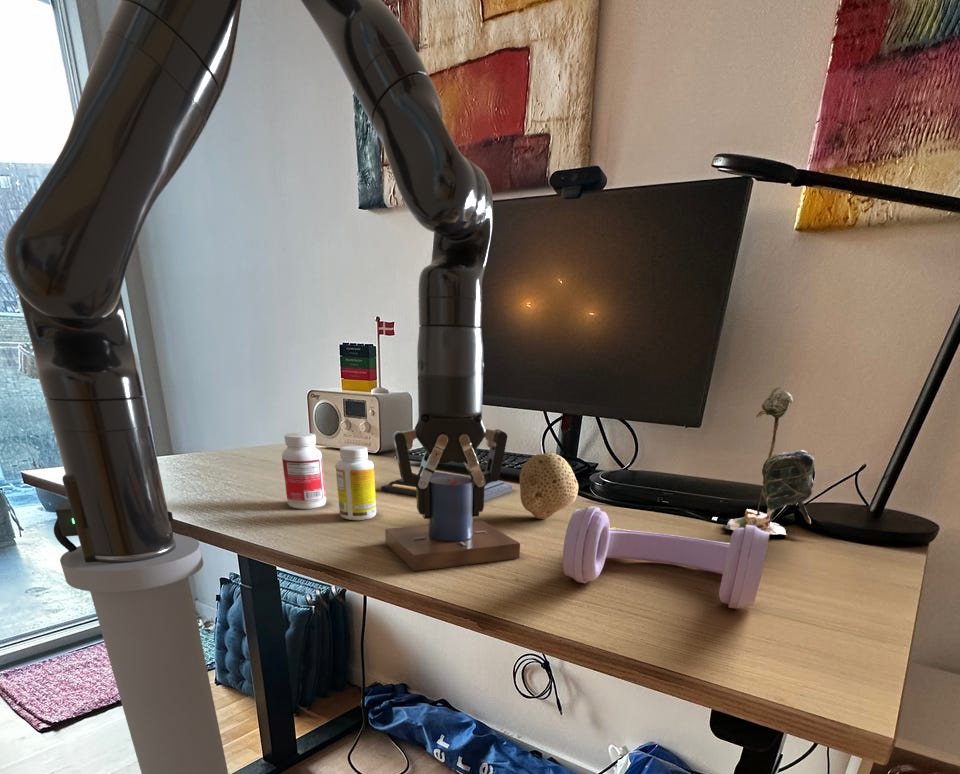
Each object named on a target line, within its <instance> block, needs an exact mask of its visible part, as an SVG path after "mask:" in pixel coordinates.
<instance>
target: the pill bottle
mask: <svg viewBox="0 0 960 774" xmlns="http://www.w3.org/2000/svg"><path fill="white" fill-rule="evenodd" d="M284 443H285V445H286V449H284V450H283V451H282V453H281V460H282V468H283V476H284V485H285V492H286V493H285V494H286V500H287V505H288V506H289V507H290V508H292V509H299V510H300V509H301V510H311V509H316V508H321V507H323V506H325V505H326V503H327V494H326V484H325V474H324V464H323V455H322V452H321V451H320V449H318V448H316V447H315V446H316V445H317V444H316V443H317V439H316V434H315V433H311V432H291V433H286V434H284Z"/></svg>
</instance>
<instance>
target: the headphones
mask: <svg viewBox="0 0 960 774" xmlns="http://www.w3.org/2000/svg"><path fill="white" fill-rule="evenodd" d="M769 540H770V535H769V533H767V532H764V531H762V530H760V529H758V528H757V527H756V526H752V525H746V528H738V529H736V530H733V531H732V533H731V536H730V540H729V542H723V541H716V540H710V539H704V538H696V537H688V536H683V535H682V536H681V535H675V534H668V533H659V532H658V533H657V532H649V531H641V530H640V531H639V530H632V529H631V530H630V529H626V528H619V527H611V525H610V518H609V516H608V514H607V513H606V511H603V510H601V508H600V507H599V506H588V507H586V508H583V509H576V510H574V511H573V513H572V514H571V517H570V519H569V521H568V524H567V528H566V532H565V536H564V541H563V542H564V543H563V547H562V570H563V573H564V575H565V576H566V577H570V578H571V579H573V580H574V581H575V582H577V583H581V584H587V583H588V582H593V581H595V580H597V578H598V577H599V576H600V574H601V572H602V570H603V568H604V565H605V561H606V559H621V560H623V559H624V560H637V561H647V562H654V563H663V564H670V565H676V566H683V567H687V568H688V567H689V568H694V569H699V570H703V571H708V572H713V573H716V574H721V575H722V576H721V581H720V585H719V591H718V592H719V593H718V597H719V600H720V602H722V603H724V604H727V605H728V608H731V609H740V608H743V607H753V606H754V604H755V601H756V598H757V594H758V590H759V587H760V582H761V578H762V573H763V571H764V570H763V569H764V565H765V561H766V557H767V556H766V555H767V551H768V545H769Z"/></svg>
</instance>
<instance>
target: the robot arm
mask: <svg viewBox="0 0 960 774" xmlns="http://www.w3.org/2000/svg"><path fill="white" fill-rule="evenodd" d="M242 1H243V0H120V1H119V3H118V6H117V7H116V10H115V12H114V15H113V16H112V18H111V21H110V23H109V25H108V27H107V28H106V30H105V33H104V35H103V38H102V41H101V43H100V45H99V47H98V50H97V53H96V56H95V58H94V61H93V62H92V65H91V67H90V70H89V73H88V75H87V78H86V81H85V84H84V87H83V89H82V92H81V95H80V98H79V100H78V101H79V102H78V105H77V108H76V111H75V115H74V119H73V122H72V125H71V127H70V130H69V134H68V136H67V139H66V141H65V143H64V145H63V148H62V150H61V151H60V153H59V155H58V157H57V158H56V159H55V160H56V161H55V162H54V164H53V165H52V167H51V168H50V170H49V171H48V173H47V174H46V176H45V178H43V179H44V180H43V181H42V183H41V184H40V186H39V188H37V190H36V192H35V193H34V195H33V196H32V198H31V199H30V201H28V203H27V205H26V206H25V207H24V209H23V210H22V212H21V213H20V214H19V216H18V217H17V218H16V220H15V222H14V223H13V224H12V226H10V228H9V230H8V232H7V235H6V237H5V240H4V249H3V257H4V264H5V268H6V271H7V274H8V276H9V279H10V281H11V282H12V284H13V286H14V287H15V289H16V291H17V295H18V299H19V303H20V306H21V311H22V313H23V317H24V321H25V324H26V328H27V332H28V335H29V339H30V342H31V346H32V351H33V356H34V361H35V366H36V372H37V377H38V381H39V383H40V387H41V391H42V394H43V397H44V400H45V405H46V408H47V411H48V416H49V419H50V422H51V426H52V429H53V430H52V431H53V434H54V437H55V441H56V444H57V447H58V451H59V456H60V459H61V462H62V466H63V470H64V475H63V476H62V484H63V487H64V490H65V491H64V492H65V494H66V497H67V499H63V500H62V501H61V502H60V503H59V505H58V506H57V507H56V509H55V511H54V512H55V514H56V520H55V522H54V526H53V534H54V536H55V539H56V541H57V542H58V543H60V545H62V547H64V549H66V550H67V552H68V551H69V552H73V551H75V550H76V549H77V547H78V546H77V545H75V544H74V543H73V542H72V541H71V540H70V539H69V538H68V537H78V541H79V544H80V545H79V546H81V548H82V552H83V555H84V559H85V562H105V563H126V562H135V561H142V560H147V559H152V558H156V557H159V556H162V555H165V554H167V553H169V552H171V551H173V550H174V549H175V548H176V544H175V539H174V538H173V534H174V533H173V527H172V524H171V523H173V524H174V516H173V512H172V511H169V510H168V505H167V500H166V496H165V491H164V486H163V485H164V484H163V481H162V476H161V472H160V467H159V462H158V457H157V451H156V448H155V443H154V437H153V433H152V428H151V423H150V418H149V414H148V408H147V404H146V399H145V395H144V389H143V384H142V381H141V375H140V371H139V368H138V364H137V360H136V356H135V352H134V348H133V344H132V338H131V333H130V329H129V325H128V319H127V315H126V311H125V309H126V308H125V305H124V301H123V300H124V299H123V295H122V288H123V284H124V280H125V277H126V274H127V271H128V268H129V265H130V263H131V258H132V256H133V253H134V250H135V248H136V245H137V241H138V240H139V237H140V234H141V231H142V230H143V226H144V224H145V222H146V220H147V218H148V215H149V213H150V212H151V209H152V207H153V206H154V204H155V202H156V201H157V199H158V198H159V196H160V195H161V193H162V192H163V191H164V190H165V188H167V186H168V185H169V183H170V182H171V181H172V179H173V178H175V176H176V174H177V173H178V172H179V171H180V169H181V167H182V166H183V165H184V163H185V162H186V160H187V159H188V157H189V156H190V154H191V152H192V151H193V149H194V148H195V146H196V145H197V143H198V141H199V139H200V138H201V136H202V134H203V132H204V130H205V128H206V127H207V125H208V123H209V121H210V119H211V117H212V115H213V114H214V111H215V108H216V107H217V104H218V102H219V101H220V98H221V96H222V94H223V92H224V89H225V87H226V85H227V82H228V78H229V76H230V72H231V69H232V65H233V64H232V63H233V60H234V54H235V49H236V43H237V36H238V29H239V22H240V15H241V8H242V3H243V2H242ZM300 2H301V3H302V4H303V7H304V8H305V9H306V11H307V12H308V14H309V16H310V17H311V18H312V19H313V21H314V23H315V25H316V26H317V28H318V30H319V31H320V33H321V34H322V36H323V38H324V39H325V41H326V43H327V45H328V47H329V49H330V50H331V52H332V54H333V55H334V57H335V59H336V61H337V62H338V65H339V66H340V68H341V70H342V72H343V74H344V76H345V77H346V79H347V81H348V83H349V85H350V87H351V89H352V90H353V92H354V94H355V97H356V98H357V100H358V102H359V104H360V105H361V107H362V110H363V111H364V114H365V115H366V116H367V118H368V120H369V122H370V125H371V126H372V128H373V129H374V131H375V133H376V135H377V136H378V138H379V140H380V142H381V143H382V145H383V149H384V152H385V156H386V159H387V162H388V165H389V167H390V170H391V173H392V176H393V179H394V181H395V184H396V186H397V189H398V192H399V194H400V196H401V198H402V200H403V202H404V204H405V205H406V208H407V209H408V211H409V212H410V214H411V215H412V216H413V218H414V219H415V220H416V221H417V223H418V224H419V225H420V226H422V227H423V228H424V229H426V230H427V231H429V232H431V233H433V238H432V250H431V260H430V264H428V265H427V266H425V267H423V269H422V270H421V271H420V274H419V276H418V277H419V279H418V288H417V289H418V290H417V292H418V294H417V295H418V297H417V298H418V300H417V301H418V336H417V337H418V338H417V347H416V348H417V351H416V354H417V355H416V357H417V358H416V359H417V360H416V361H417V403H418V405H417V407H418V409H417V411H418V419H417V423H416V425H415V426H414V428H412V429H408V430H401V431H400V430H398V429H397V430H394V431H393V432H392V441H393V445H394V450H395V455H396V460H397V465H398V470H399V475H400V479H403V481H404V483H405V484H411V485H413V486H415V487H416V494H417V496H416V509H417V512H418V514H419V515H421V516H422V518H423V519H424V520H429V519H430V489H429V488H428V484H429V481H430V479H431V477H432V474H433V473H434V472H436V469H437V467H438V465H439V464H448V463H451V462H452V463H457V464H464V466H465V468H466V470H467V472H468V474H469V475H468V476H469V477H471V479H472V480H473V518H475V517H476V518H477V517H480V513H482V512H483V511H484V509H485V501H484V488H485V486H486V485H487V484H488V483H490V482H493V481H494V482H496V481H500V480H499V479H500V478H501V472H502V467H503V462H504V456H505V453H506V446H507V440H508V434H507V433H506V432H505V431H503V430H501V429H490V428H489V429H488V428H486V427H485V425H484V423H483V396H484V395H483V393H484V392H483V391H484V390H483V389H484V385H483V384H484V371H485V361H484V341H483V340H484V339H483V328H482V327H483V282H484V281H483V280H484V275H485V271H486V268H487V267H486V266H487V264H488V263H487V262H488V257H489V252H490V245H491V240H492V232H493V225H494V200H493V199H494V198H493V191H492V188H491V187H492V186H491V184H490V181H489V179H488V177H487V175H486V173H485V172H484V171H483V169H482V168H481V167H480V166H479V165H478V164H476V163H475V162H473V161H472V160H470V159H469V158H468V157H466V156H465V155H463V154H462V153H461V151H460V150H459V148H458V147H457V145H456V143H455V141H454V140H453V138H452V136H451V135H450V133H449V131H448V129H447V127H446V124H445V123H444V121H443V106H442V102H441V99H440V97H439V94H438V92H437V88H436V86H435V84H434V82H433V81H432V79H431V77H430V75H429V73H428V71H427V69H426V67H425V65H424V63H423V61H422V59H421V57H420V56H419V53H418V52H417V50H416V47H415V46H414V44H413V42H412V40H411V37H410V36H409V35H408V33H407V32H406V29H405V28H404V26H403V25H402V24H401V22H400V21H399V19H398V18H397V16H396V15H395V13H394V12H393V11H392V10H391V9H390V8H389V7H388V6H387V5H386V3H385V2H384V1H383V0H300ZM484 438H485V440H486V446H487V447H488V448H489V451H488V457H487V462H486V468H485V470H484V471H482V469H481V465H480V463H479V459H478V457H477V455H476V453H475V452H476V450H477V449H478V448H479V446H480V445H481V443H482V442H483V440H484ZM416 439H417V440H418V442H419V444H420V445H421V446H422V448H423V449H424V450H425V452H424V454H423V456H422V459H421V461H420V466H419V469H418V471H417V473H415V472H413V471H412V470H413V469H412V465H411V460H410V456H409V455H410V454H409V451H410V450H411V449H412V448H413V446H414V445H413V444H414V441H415V440H416Z"/></svg>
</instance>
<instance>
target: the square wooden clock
mask: <svg viewBox="0 0 960 774" xmlns="http://www.w3.org/2000/svg"><path fill="white" fill-rule="evenodd" d="M384 533H385V535H384V536H385V544H386V545H387V546H388V547H389V548H390V549H391V550H392V551H393V552H394V553H395V554H396V555H397V556H398V557H399V558H400V559H401V560H402V561H403V562H404V563H405V564H406V565H407V566H408V567H409V568H410V569H412V570H413V572H418V571H419V572H421V571H429V570H436V569H437V570H438V569H444V568H451V567H452V568H453V567H460V566H468V565H476V564H484V563H491V562H500V561H508V560H515V559H520V557H521V555H520V554H521V542H519V541H517V540H515V539H514V538H512V537H510V536H509V535H507V534H506V533H505V532H502V531H500V530H499V529H497V528H495V527H494V526H492V525H490V524H488V523H487V522H486V521H484V520H482V519H477V520H475V519H474V520H473V531H472V537H471V538H470V539H467V540H463V541H454V542H449V541H439V540H435V539H432V538H431V537H430V536H429V524H423V525H412V526H404V527H403V526H401V527H391V528H385V529H384Z"/></svg>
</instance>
